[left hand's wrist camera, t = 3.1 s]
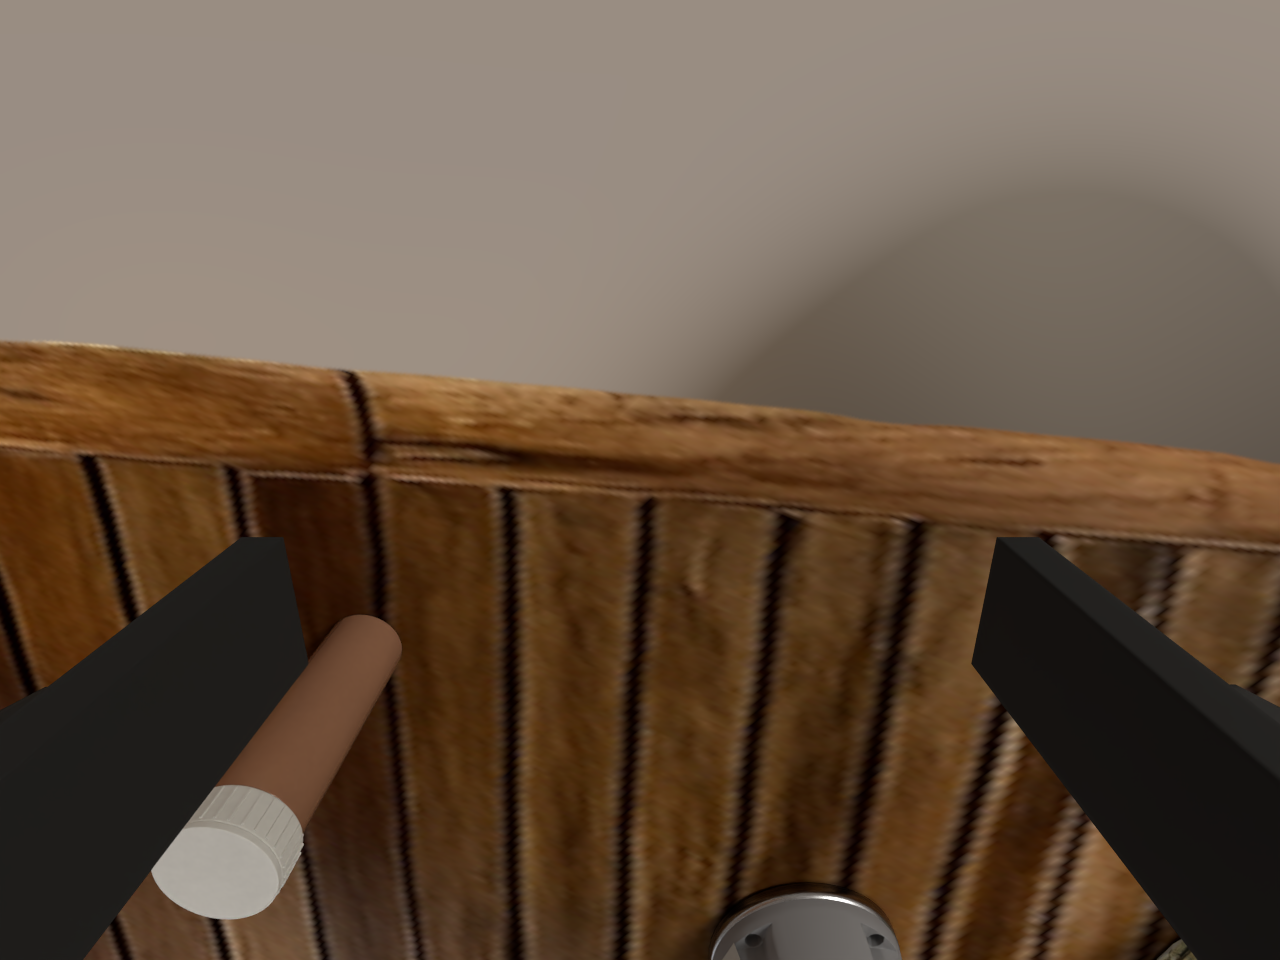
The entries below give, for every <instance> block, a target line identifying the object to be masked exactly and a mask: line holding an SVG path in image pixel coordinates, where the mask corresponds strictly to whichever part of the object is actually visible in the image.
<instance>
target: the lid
mask: <svg viewBox="0 0 1280 960" xmlns="http://www.w3.org/2000/svg"><path fill="white" fill-rule="evenodd" d="M303 836H304V835H303V832H302V828H301V825H300V822H299V820H298V819H297V817H296V815H295V814H294V813H293V811H292V810H291V809H290V808H289V807H288V806H287V805H286V804H284V803H283V802H282V801H281V800H279V799H278V798H276V797H274V796H273V795H271V794H269V793H267V792H264V791H262V790H259V789H256V788H252V787H248V786H241V785H223V786H217V787H214V788H213V790H212V791H211V792H210V794H209V795H208V796H207V798H206V799H205V800H204V802H203V803H202V804H201V806H200V807H199V808H198V809H197V811H196V812H195V813H194V815H193V816H192V817H191V819H190V820H189V821H188V823H187V824H186V825H185V826H184V828H183V829H182V830H181V832H180V833H179V834H178V836H177V837H176V838H175V840H174V841H173V842H172V844H171V845H170V846H169V847H168V849H167V850H166V851H165V853H164V854H163V855H162V857H161V858H160V859H159V861H158V862H157V863H156V865H155V866H154V867H153V868H152V870H151V871H152V875H153V877H154V879H155V882H156V883H157V885H158V886H159V888H160V889H161V890H162V891H163V893H164V894H165V895H166V896H168V897H169V898H170V899H171V900H172V901H174V902H175V903H176V904H178V905H180V906H181V907H183V908H185V909H187V910H189V911H191V912H194V913H196V914H199V915H202V916H206V917H211V918H217V919H239V918H245V917H248V916H252V915H254V914H257V913H259V912H260V911H262V910H264V909H265V908H266V907H267V906H269V905H270V903H271V902H272V901H273V900H274V898H275V897H276V895H278V893H279V891H280V890H281V888H282V887H283V886H284V884H285V882H286V880H287V878H288V877H289V875H290V873H291V871H292V869H293V867H294V865H295V864H296V862H297V860H298V858H299V856H300V854H301V852H300V851H301V849H302V847H303V845H304V843H303Z"/></svg>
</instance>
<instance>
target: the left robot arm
mask: <svg viewBox="0 0 1280 960" xmlns="http://www.w3.org/2000/svg"><path fill="white" fill-rule="evenodd" d="M308 664H309V663H308V658H307V653H306V648H305V643H304V638H303V633H302V629H301V624H300V619H299V614H298V609H297V604H296V599H295V594H294V589H293V584H292V579H291V574H290V569H289V564H288V559H287V554H286V549H285V544H284V539H283V537H241V538H240V539H239V540H237V541H236V542H235V543H234V544H232V545H231V546H230V547H228V548H227V549H226V550H224V551H223V552H222V553H221V554H219V555H218V556H217V557H215V558H214V559H213V560H212V561H210V562H209V563H208V564H206V565H205V566H204V567H202V568H201V569H200V570H199V571H197V572H196V573H195V574H193V575H192V576H191V577H190V578H188V579H187V580H186V581H184V582H183V583H182V584H180V585H179V586H178V587H177V588H175V589H174V590H173V591H171V592H170V593H169V594H168V595H166V596H165V597H164V598H162V599H161V600H160V601H158V602H157V603H156V604H155V605H153V606H152V607H151V608H149V609H148V610H147V611H146V612H144V613H143V614H142V615H140V616H139V617H138V618H136V619H135V620H134V621H133V622H131V623H130V624H129V625H127V626H126V627H125V628H124V629H122V630H121V631H120V632H118V633H117V634H116V635H114V636H113V637H112V638H111V639H109V640H108V641H107V642H105V643H104V644H103V645H102V646H100V647H99V648H98V649H96V650H95V651H94V652H92V653H91V654H90V655H89V656H87V657H86V658H85V659H83V660H82V661H81V662H80V663H78V664H77V665H76V666H74V667H73V668H72V669H70V670H69V671H68V672H67V673H65V674H64V675H63V676H61V677H60V678H59V679H57V680H56V681H55V682H54V683H52V684H51V685H50V686H48V687H44V688H43V689H41V690H39V691H37V692H35V693H33V694H31V695H29V696H27V697H25V698H23V699H21V700H19V701H17V702H16V703H14V704H12V705H10V706H8V707H6V708H4V709H2V710H0V960H83V959H84V958H85V956H86V955H87V954H88V952H89V951H90V950H91V948H92V947H93V946H94V944H95V943H96V942H97V941H98V939H99V938H100V937H101V935H102V934H103V933H104V931H105V930H106V929H107V927H108V926H109V925H110V923H111V922H112V921H113V920H114V918H115V917H116V916H117V914H118V913H119V912H120V910H121V909H122V908H123V906H124V905H125V904H126V903H127V901H128V900H129V899H130V897H131V896H132V895H133V893H134V892H135V891H136V889H137V888H138V887H139V885H140V884H141V883H142V882H143V880H144V879H145V878H146V876H147V875H148V874H149V872H150V871H151V870H152V868H153V867H154V866H155V865H156V863H157V862H158V861H159V859H160V858H161V857H162V855H163V854H164V853H165V851H166V850H167V849H168V847H169V846H170V845H171V844H172V842H173V841H174V840H175V838H176V837H177V836H178V834H179V833H180V832H181V830H182V829H183V828H184V826H185V825H186V824H187V823H188V821H189V820H190V819H191V817H192V816H193V815H194V813H195V812H196V811H197V809H198V808H199V807H200V806H201V804H202V803H203V802H204V800H205V799H206V798H207V796H208V795H209V794H210V792H211V791H212V790H213V788H214V787H215V786H216V785H217V783H218V782H219V781H220V779H221V778H222V777H223V775H224V774H225V773H226V771H227V770H228V769H229V768H230V766H231V765H232V764H233V762H234V761H235V760H236V758H237V757H238V756H239V754H240V753H241V752H242V750H243V749H244V748H245V747H246V745H247V744H248V743H249V741H250V740H251V739H252V737H253V736H254V735H255V733H256V732H257V731H258V729H259V728H260V727H261V726H262V724H263V723H264V722H265V720H266V719H267V718H268V716H269V715H270V714H271V712H272V711H273V710H274V709H275V707H276V706H277V705H278V703H279V702H280V701H281V699H282V698H283V697H284V695H285V694H286V693H287V691H288V690H289V689H290V688H291V686H292V685H293V684H294V682H295V681H296V680H297V678H298V677H299V676H300V674H301V673H302V672H303V671H304V669H305V668H306V667H307V665H308ZM971 664H972V665H973V667H974V668H975V669H976V671H977V672H978V673H979V674H980V676H981V677H982V678H983V680H984V681H985V682H986V684H987V685H988V686H989V688H990V689H991V690H992V691H993V693H994V694H995V695H996V697H997V698H998V699H999V701H1000V702H1001V703H1002V705H1003V706H1004V707H1005V709H1006V710H1007V711H1008V712H1009V714H1010V715H1011V716H1012V718H1013V719H1014V720H1015V722H1016V723H1017V724H1018V726H1019V727H1020V728H1021V730H1022V731H1023V732H1024V733H1025V735H1026V736H1027V737H1028V739H1029V740H1030V741H1031V743H1032V744H1033V745H1034V747H1035V748H1036V749H1037V750H1038V752H1039V753H1040V754H1041V756H1042V757H1043V758H1044V760H1045V761H1046V762H1047V764H1048V765H1049V766H1050V768H1051V769H1052V770H1053V771H1054V773H1055V774H1056V775H1057V777H1058V778H1059V779H1060V781H1061V782H1062V783H1063V785H1064V786H1065V787H1066V788H1067V790H1068V791H1069V792H1070V794H1071V795H1072V796H1073V798H1074V799H1075V800H1076V802H1077V803H1078V804H1079V806H1080V807H1081V808H1082V809H1083V811H1084V812H1085V813H1086V815H1087V816H1088V817H1089V819H1090V820H1091V821H1092V823H1093V824H1094V825H1095V826H1096V828H1097V829H1098V830H1099V832H1100V833H1101V834H1102V836H1103V837H1104V838H1105V840H1106V841H1107V842H1108V844H1109V845H1110V846H1111V847H1112V849H1113V850H1114V851H1115V853H1116V854H1117V855H1118V857H1119V858H1120V859H1121V861H1122V862H1123V863H1124V865H1125V866H1126V867H1127V868H1128V870H1129V871H1130V872H1131V874H1132V875H1133V876H1134V878H1135V879H1136V880H1137V882H1138V883H1139V884H1140V885H1141V887H1142V888H1143V889H1144V891H1145V892H1146V893H1147V895H1148V896H1149V897H1150V899H1151V900H1152V901H1153V903H1154V904H1155V905H1156V906H1157V908H1158V909H1159V910H1160V912H1161V913H1162V914H1163V916H1164V917H1165V918H1166V920H1167V921H1168V922H1169V923H1170V925H1171V926H1172V927H1173V929H1174V930H1175V931H1176V933H1177V934H1178V935H1179V937H1180V938H1181V939H1182V941H1183V942H1184V943H1185V944H1186V946H1187V947H1188V948H1189V950H1190V951H1191V952H1192V954H1193V955H1194V956H1195V958H1196V959H1197V960H1280V707H1278V706H1276V705H1274V704H1272V703H1270V702H1268V701H1266V700H1264V699H1263V698H1261V697H1259V696H1257V695H1255V694H1253V693H1251V692H1249V691H1247V690H1245V689H1243V688H1241V687H1239V686H1237V685H1229V684H1228V683H1226V682H1225V681H1224V680H1223V679H1221V678H1220V677H1219V676H1217V675H1216V674H1215V673H1213V672H1212V671H1211V670H1210V669H1208V668H1207V667H1206V666H1204V665H1203V664H1202V663H1201V662H1199V661H1198V660H1197V659H1195V658H1194V657H1193V656H1191V655H1190V654H1189V653H1188V652H1186V651H1185V650H1184V649H1182V648H1181V647H1180V646H1178V645H1177V644H1176V643H1175V642H1173V641H1172V640H1171V639H1169V638H1168V637H1167V636H1166V635H1164V634H1163V633H1162V632H1160V631H1159V630H1158V629H1156V628H1155V627H1154V626H1153V625H1151V624H1150V623H1149V622H1147V621H1146V620H1145V619H1144V618H1142V617H1141V616H1140V615H1138V614H1137V613H1136V612H1134V611H1133V610H1132V609H1131V608H1129V607H1128V606H1127V605H1125V604H1124V603H1123V602H1122V601H1120V600H1119V599H1118V598H1116V597H1115V596H1114V595H1112V594H1111V593H1110V592H1109V591H1107V590H1106V589H1105V588H1103V587H1102V586H1101V585H1100V584H1098V583H1097V582H1096V581H1094V580H1093V579H1092V578H1090V577H1089V576H1088V575H1087V574H1085V573H1084V572H1083V571H1081V570H1080V569H1079V568H1078V567H1076V566H1075V565H1074V564H1072V563H1071V562H1070V561H1068V560H1067V559H1066V558H1065V557H1063V556H1062V555H1061V554H1059V553H1058V552H1057V551H1056V550H1054V549H1053V548H1052V547H1050V546H1049V545H1048V544H1046V543H1045V542H1044V541H1043V540H1041V539H1040V538H1039V537H997V539H996V544H995V549H994V554H993V559H992V564H991V569H990V574H989V579H988V584H987V589H986V594H985V599H984V604H983V609H982V614H981V619H980V624H979V629H978V633H977V638H976V643H975V648H974V653H973V658H972V663H971ZM709 958H710V960H902V958H901V953H900V949H899V945H898V942H897V939H896V936H895V933H894V930H893V928H892V925H891V923H890V921H889V919H888V918H887V916H886V914H885V913H884V912H883V911H882V910H881V909H880V908H879V907H878V906H877V905H876V904H875V903H874V902H872V901H871V900H870V899H868V898H866V897H865V896H863V895H861V894H859V893H857V892H855V891H852V890H849V889H847V888H843V887H839V886H835V885H829V884H821V883H798V884H790V885H784V886H779V887H775V888H772V889H769V890H766V891H763V892H760V893H758V894H756V895H754V896H752V897H750V898H748V899H746V900H744V901H743V902H741V903H740V904H738V905H737V906H736V907H734V908H733V909H732V910H731V911H730V912H729V913H728V914H727V915H726V916H725V917H724V918H723V919H722V920H721V922H720V923H719V924H718V926H717V928H716V929H715V931H714V934H713V936H712V939H711V942H710V949H709Z"/></svg>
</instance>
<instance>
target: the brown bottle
mask: <svg viewBox="0 0 1280 960" xmlns="http://www.w3.org/2000/svg"><path fill="white" fill-rule="evenodd" d="M401 654H402V645H401V641H400V639H399V636H398V635H397V633H396V632H395V630H394V629H393V628H392V627H391V626H390V625H389V624H387V623H386V622H384V621H383V620H381V619H379V618H376V617H373V616H369V615H353V616H349V617H346V618H344V619H342V620H340V621H339V622H338V623H337V624H336V625H335V626H334V627H333V628H332V630H331V631H330V632H329V633H328V635H327V636H326V637H325V639H324V640H323V641H322V643H321V644H320V645H319V646H318V648H317V649H316V650H315V652H314V653H313V654H312V656H311V657H310V658H309V659H308V663H309V664H308V665H307V667H306V668H305V669H304V671H303V672H302V673H301V674H300V676H299V677H298V678H297V680H296V681H295V682H294V684H293V685H292V686H291V688H290V689H289V690H288V691H287V693H286V694H285V695H284V697H283V698H282V699H281V701H280V702H279V703H278V705H277V706H276V707H275V709H274V710H273V711H272V712H271V714H270V715H269V716H268V718H267V719H266V720H265V722H264V723H263V724H262V726H261V727H260V728H259V729H258V731H257V732H256V733H255V735H254V736H253V737H252V739H251V740H250V741H249V743H248V744H247V745H246V747H245V748H244V749H243V750H242V752H241V753H240V754H239V756H238V757H237V758H236V760H235V761H234V762H233V764H232V765H231V766H230V768H229V769H228V770H227V771H226V773H225V774H224V775H223V777H222V778H221V779H220V781H219V782H218V783H217V785H216V786H215V787H217V786H223V785H241V786H248V787H252V788H256V789H259V790H262V791H264V792H267V793H269V794H271V795H273V796H274V797H276V798H278V799H279V800H281V801H282V802H283V803H284V804H286V805H287V806H288V807H289V808H290V809H291V810H292V811H293V813H294V814H295V815H296V817H297V819H298V820H299V822H300V825H301V828H302V832H303V833H304V831H305V829H306V828H307V826H308V824H309V822H310V820H311V819H312V817H313V815H314V813H315V811H316V810H317V808H318V806H319V804H320V802H321V801H322V799H323V797H324V795H325V793H326V792H327V790H328V788H329V786H330V784H331V783H332V781H333V779H334V777H335V775H336V774H337V772H338V770H339V768H340V767H341V765H342V763H343V761H344V759H345V758H346V756H347V754H348V752H349V750H350V749H351V747H352V745H353V743H354V741H355V740H356V738H357V736H358V734H359V732H360V731H361V729H362V727H363V725H364V723H365V722H366V720H367V718H368V716H369V715H370V713H371V711H372V709H373V707H374V706H375V704H376V702H377V700H378V698H379V697H380V695H381V693H382V691H383V689H384V688H385V686H386V684H387V682H388V680H389V679H390V677H391V675H392V673H393V671H394V670H395V668H396V666H397V664H398V663H399V661H400V658H401Z"/></svg>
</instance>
